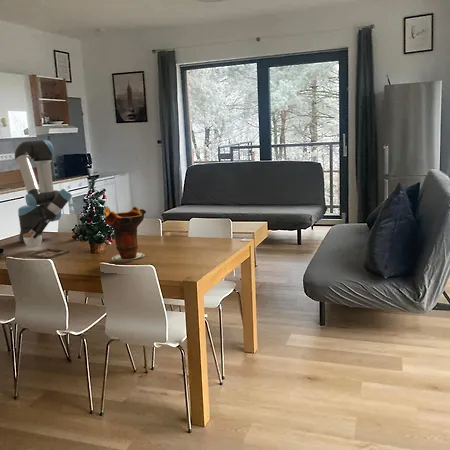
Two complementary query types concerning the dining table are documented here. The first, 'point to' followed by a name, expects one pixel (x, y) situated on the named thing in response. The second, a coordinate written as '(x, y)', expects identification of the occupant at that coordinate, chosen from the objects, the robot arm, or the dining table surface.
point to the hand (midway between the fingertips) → (28, 240)
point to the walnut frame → (47, 253)
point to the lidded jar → (36, 241)
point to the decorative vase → (125, 232)
